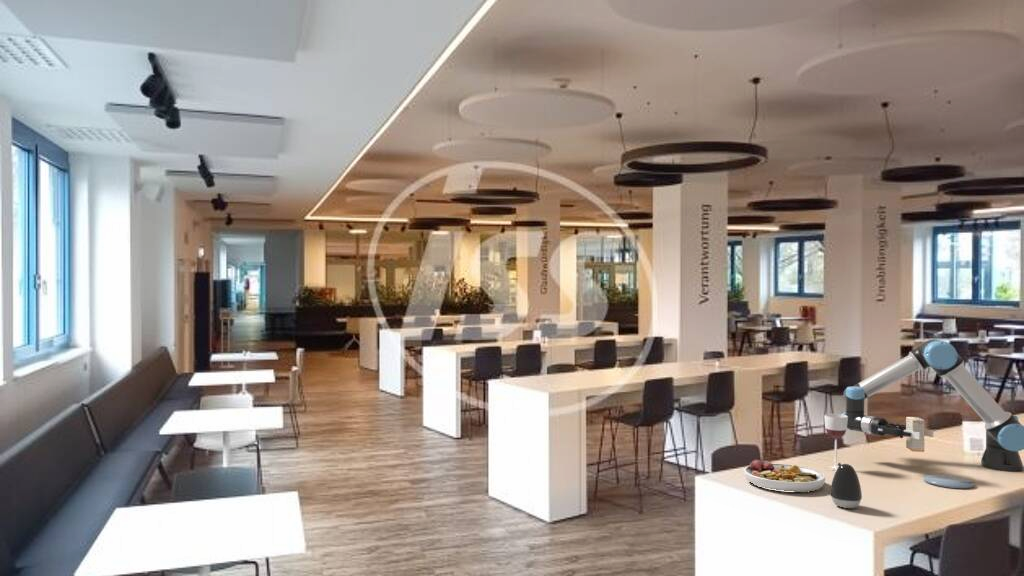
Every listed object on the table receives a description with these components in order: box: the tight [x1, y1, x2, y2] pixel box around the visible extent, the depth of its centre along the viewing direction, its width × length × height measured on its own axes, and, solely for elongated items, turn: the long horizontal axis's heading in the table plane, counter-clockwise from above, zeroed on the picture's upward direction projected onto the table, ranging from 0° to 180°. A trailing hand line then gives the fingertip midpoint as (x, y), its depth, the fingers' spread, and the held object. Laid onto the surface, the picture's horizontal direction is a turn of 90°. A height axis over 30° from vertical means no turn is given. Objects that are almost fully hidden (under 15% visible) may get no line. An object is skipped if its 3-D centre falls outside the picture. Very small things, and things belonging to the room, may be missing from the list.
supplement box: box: [905, 416, 925, 453], centre depth 300 cm, size 8×5×13 cm, turn 168°
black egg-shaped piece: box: [829, 462, 863, 509], centre depth 257 cm, size 10×10×15 cm
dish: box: [923, 474, 975, 489], centre depth 289 cm, size 17×17×1 cm
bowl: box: [743, 459, 826, 493], centre depth 287 cm, size 30×30×8 cm
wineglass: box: [823, 413, 848, 469], centre depth 312 cm, size 9×10×23 cm
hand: (926, 434), depth 296 cm, fingers closed on supplement box, 9 cm apart
